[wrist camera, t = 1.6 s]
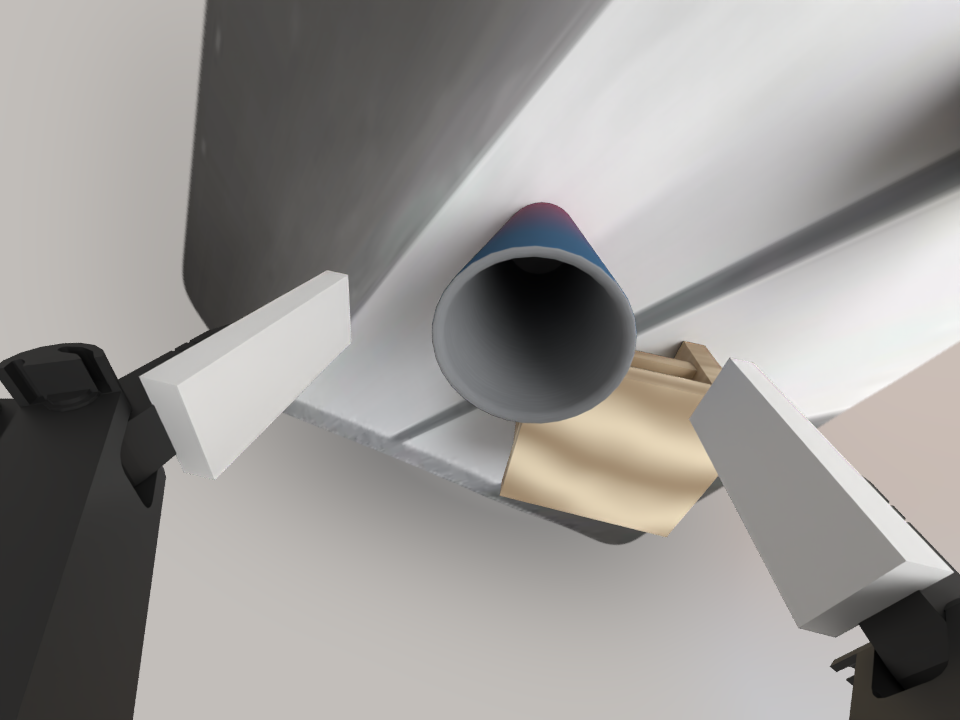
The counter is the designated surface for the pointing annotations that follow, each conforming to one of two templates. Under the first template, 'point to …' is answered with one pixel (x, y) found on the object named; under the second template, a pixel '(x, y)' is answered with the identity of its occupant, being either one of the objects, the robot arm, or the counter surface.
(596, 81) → the counter surface
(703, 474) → the beige streaked flat-top fixture
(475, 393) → the cup
